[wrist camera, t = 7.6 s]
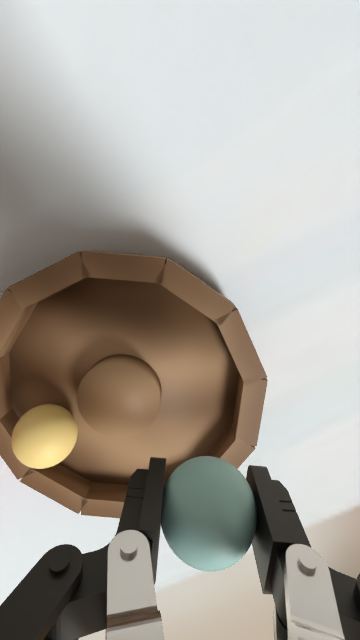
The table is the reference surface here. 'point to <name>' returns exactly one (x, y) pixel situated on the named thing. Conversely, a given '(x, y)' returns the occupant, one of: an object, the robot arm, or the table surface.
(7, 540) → the table surface
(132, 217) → the table surface
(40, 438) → the bead mustard
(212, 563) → the bead teal
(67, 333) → the tray
